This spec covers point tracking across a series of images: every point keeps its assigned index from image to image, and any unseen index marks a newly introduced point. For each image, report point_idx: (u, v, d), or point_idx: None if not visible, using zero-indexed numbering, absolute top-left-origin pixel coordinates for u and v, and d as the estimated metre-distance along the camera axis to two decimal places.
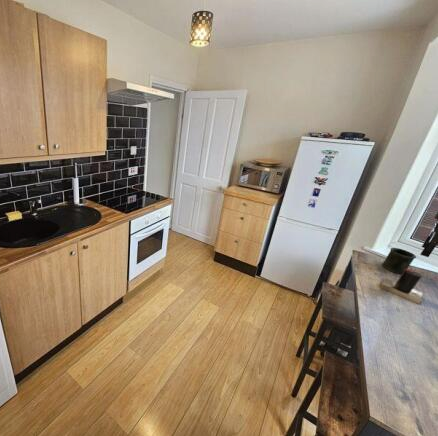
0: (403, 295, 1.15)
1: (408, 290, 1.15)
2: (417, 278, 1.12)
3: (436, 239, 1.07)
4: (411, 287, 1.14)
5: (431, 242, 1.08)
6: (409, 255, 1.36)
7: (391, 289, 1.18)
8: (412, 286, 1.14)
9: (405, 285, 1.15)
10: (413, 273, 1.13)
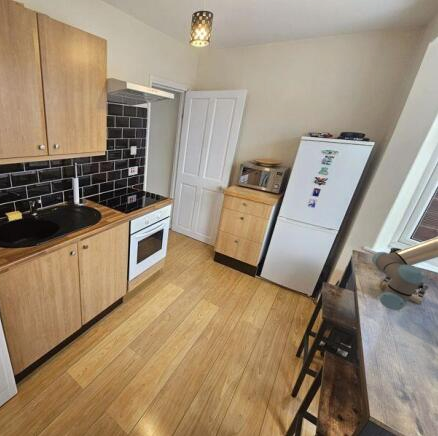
0: None
1: None
2: None
3: None
4: None
5: (425, 290, 1.10)
6: None
7: None
8: None
9: None
10: None
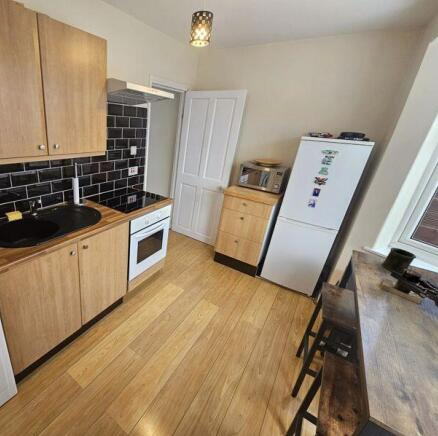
0: (403, 295, 1.15)
1: None
2: None
3: None
4: None
5: None
6: (409, 255, 1.36)
7: (391, 289, 1.18)
8: None
9: None
10: (415, 273, 1.13)
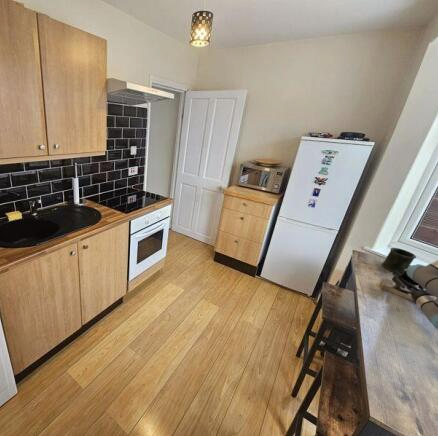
0: (403, 295, 1.15)
1: None
2: None
3: None
4: None
5: None
6: (409, 255, 1.36)
7: (391, 289, 1.18)
8: None
9: None
10: None
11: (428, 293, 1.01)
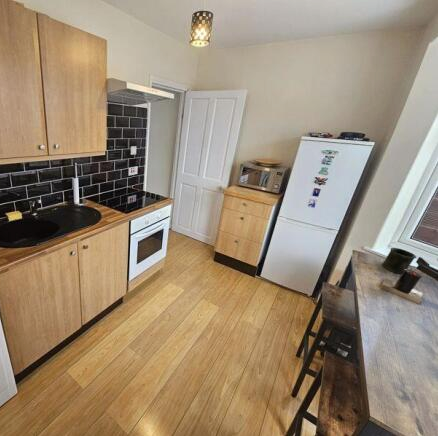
0: (403, 295, 1.15)
1: None
2: None
3: None
4: None
5: None
6: (409, 255, 1.36)
7: (391, 289, 1.18)
8: None
9: None
10: (415, 273, 1.14)
11: None
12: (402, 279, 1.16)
